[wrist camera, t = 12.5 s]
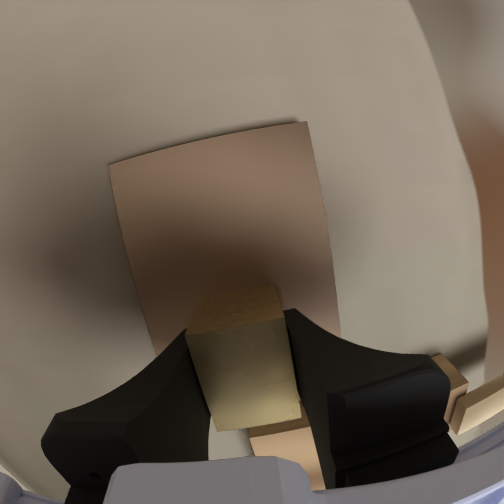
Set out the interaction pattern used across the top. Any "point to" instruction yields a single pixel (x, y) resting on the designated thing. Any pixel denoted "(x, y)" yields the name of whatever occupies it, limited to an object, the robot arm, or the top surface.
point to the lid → (231, 261)
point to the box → (301, 439)
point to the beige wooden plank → (478, 405)
